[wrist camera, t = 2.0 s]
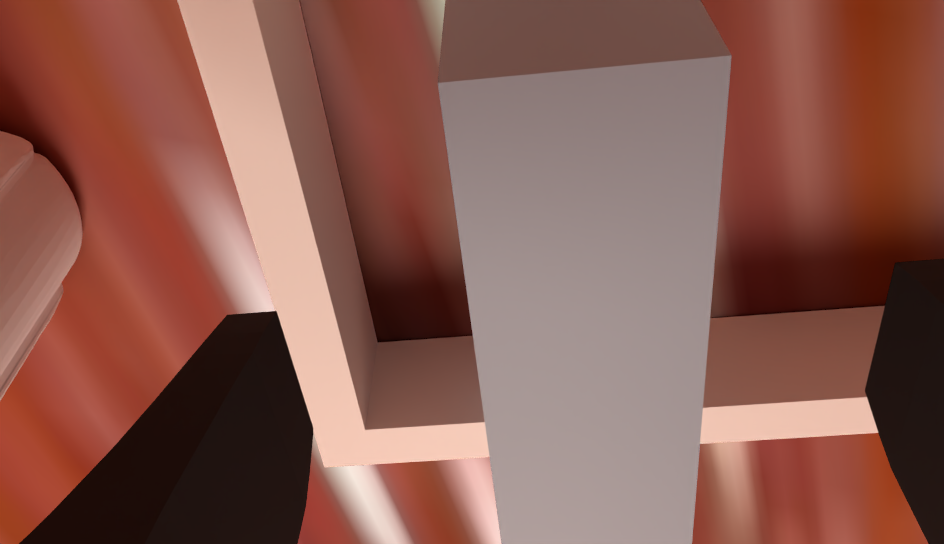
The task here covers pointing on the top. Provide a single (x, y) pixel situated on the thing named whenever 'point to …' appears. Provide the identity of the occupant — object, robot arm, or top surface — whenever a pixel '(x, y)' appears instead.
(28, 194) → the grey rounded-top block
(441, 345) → the rack
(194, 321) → the top surface
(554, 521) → the grey flat block
